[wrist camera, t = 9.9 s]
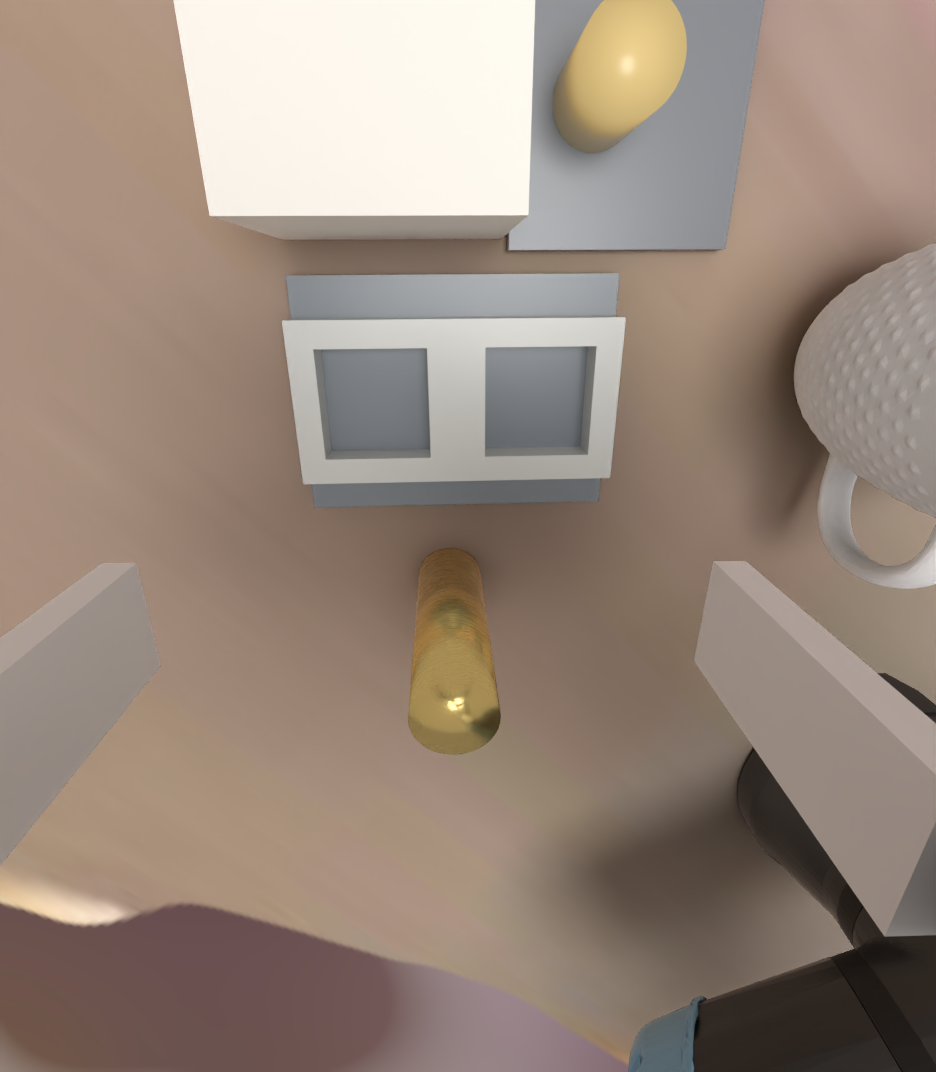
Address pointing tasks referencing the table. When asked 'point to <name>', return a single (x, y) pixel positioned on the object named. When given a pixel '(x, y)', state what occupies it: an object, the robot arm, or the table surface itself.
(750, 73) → the tile
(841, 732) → the robot arm
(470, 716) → the peg
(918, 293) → the mug
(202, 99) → the block
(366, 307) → the board
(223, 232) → the table surface
